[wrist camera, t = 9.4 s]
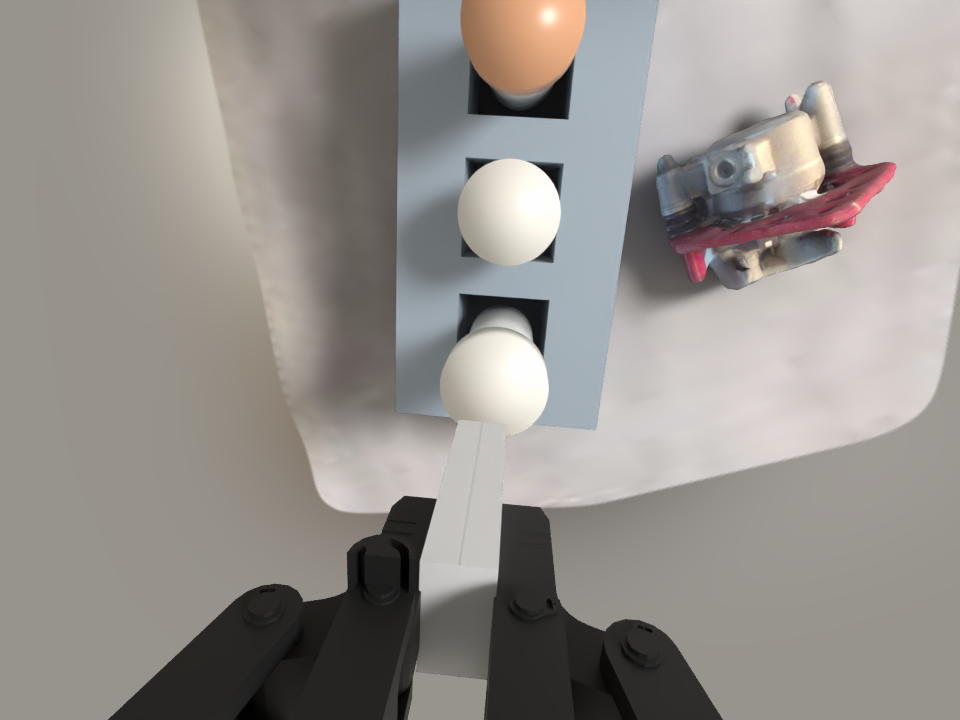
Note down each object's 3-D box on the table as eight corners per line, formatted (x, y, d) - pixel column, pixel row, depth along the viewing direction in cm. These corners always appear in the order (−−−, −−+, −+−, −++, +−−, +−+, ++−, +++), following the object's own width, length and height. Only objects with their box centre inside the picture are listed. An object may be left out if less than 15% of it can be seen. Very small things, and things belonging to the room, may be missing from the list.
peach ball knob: (481, 21, 26) (463, -61, 18) (570, 25, 26) (593, -56, 18) (476, 118, 28) (457, 84, 19) (560, 123, 27) (577, 90, 19)
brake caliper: (693, 346, 32) (717, 256, 22) (628, 213, 37) (622, 81, 26) (881, 278, 30) (1014, 141, 19) (790, 145, 34) (858, -30, 24)
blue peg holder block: (426, -11, 30) (399, -72, 23) (634, -3, 29) (668, -63, 22) (417, 374, 37) (395, 412, 30) (582, 387, 36) (596, 430, 30)
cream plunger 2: (464, 293, 29) (441, 331, 21) (544, 299, 29) (554, 340, 20) (460, 368, 30) (437, 433, 22) (536, 375, 30) (542, 442, 22)
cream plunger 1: (476, 167, 30) (460, 155, 22) (553, 172, 30) (566, 161, 22) (472, 245, 32) (455, 262, 23) (545, 250, 31) (555, 269, 23)
